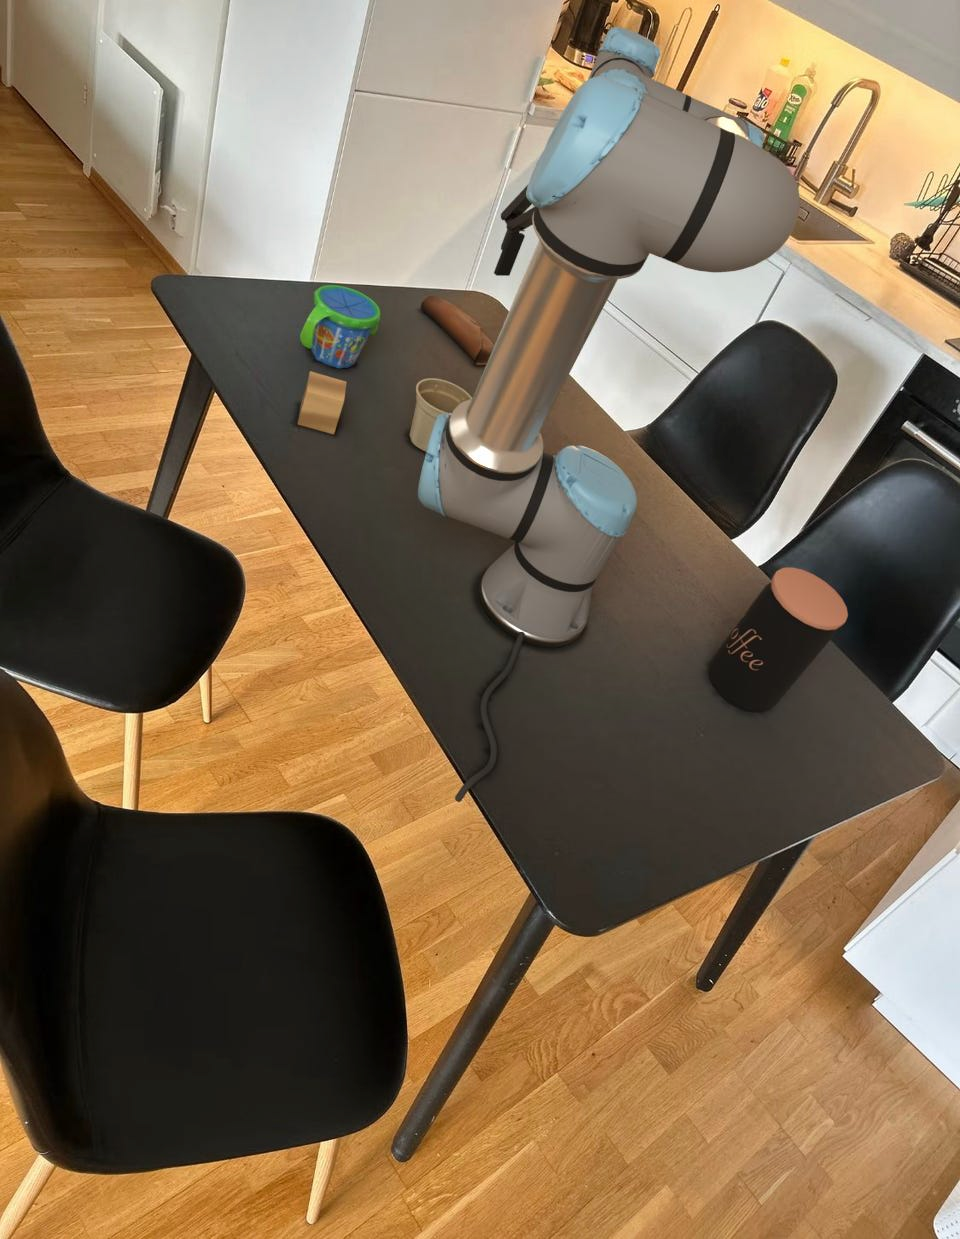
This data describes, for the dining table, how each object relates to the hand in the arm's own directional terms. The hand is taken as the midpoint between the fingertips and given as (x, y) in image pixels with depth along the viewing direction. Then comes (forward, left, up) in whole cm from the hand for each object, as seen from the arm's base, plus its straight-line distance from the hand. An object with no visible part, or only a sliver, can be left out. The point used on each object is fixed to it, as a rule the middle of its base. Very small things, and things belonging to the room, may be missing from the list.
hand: (528, 298), depth 146 cm
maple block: (-11, +26, -23) cm, 36 cm away
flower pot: (-9, +8, -24) cm, 26 cm away
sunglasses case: (+29, +2, -24) cm, 38 cm away
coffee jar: (-48, -37, -24) cm, 65 cm away
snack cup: (+8, +25, -24) cm, 35 cm away
